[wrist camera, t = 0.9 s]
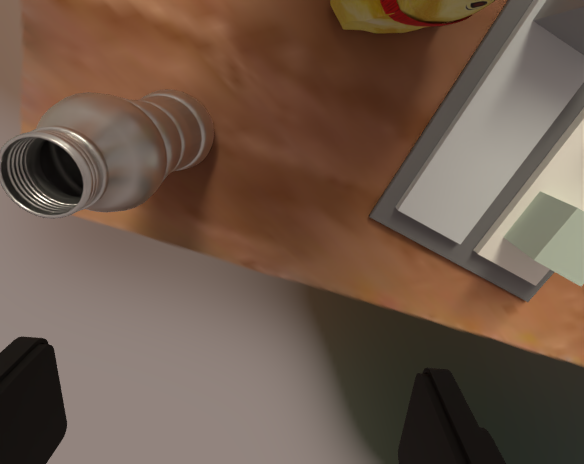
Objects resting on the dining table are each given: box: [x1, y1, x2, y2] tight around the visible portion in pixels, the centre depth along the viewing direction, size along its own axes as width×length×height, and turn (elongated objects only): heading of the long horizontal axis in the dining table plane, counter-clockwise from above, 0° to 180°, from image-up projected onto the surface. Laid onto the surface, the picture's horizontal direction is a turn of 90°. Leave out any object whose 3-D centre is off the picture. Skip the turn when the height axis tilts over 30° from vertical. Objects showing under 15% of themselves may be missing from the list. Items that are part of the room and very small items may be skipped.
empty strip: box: [396, 0, 584, 244], centre depth 30 cm, size 20×7×7 cm, turn 152°
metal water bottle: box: [0, 89, 214, 218], centre depth 25 cm, size 6×7×20 cm
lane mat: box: [369, 0, 584, 302], centre depth 34 cm, size 24×19×1 cm
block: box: [504, 191, 584, 286], centre depth 33 cm, size 5×5×5 cm
